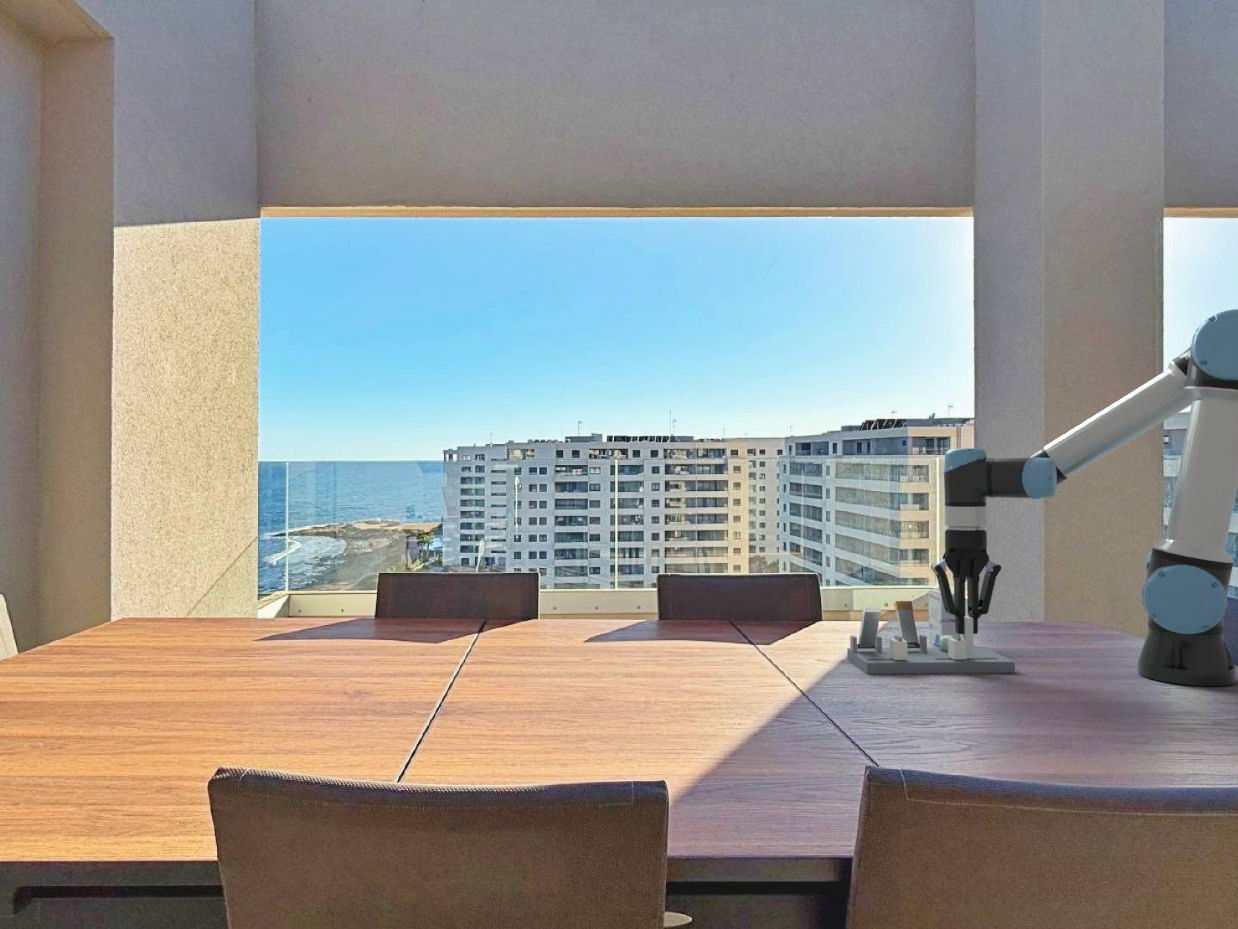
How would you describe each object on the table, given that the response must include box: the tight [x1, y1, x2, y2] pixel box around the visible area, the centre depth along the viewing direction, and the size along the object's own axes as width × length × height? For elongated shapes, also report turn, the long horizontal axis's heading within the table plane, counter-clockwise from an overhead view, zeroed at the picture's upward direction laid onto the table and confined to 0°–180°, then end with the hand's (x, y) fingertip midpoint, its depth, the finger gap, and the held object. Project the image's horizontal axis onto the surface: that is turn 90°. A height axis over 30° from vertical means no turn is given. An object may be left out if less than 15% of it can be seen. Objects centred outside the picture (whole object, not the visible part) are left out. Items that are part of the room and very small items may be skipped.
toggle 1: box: [857, 607, 882, 649], centre depth 174 cm, size 3×1×10 cm, turn 90°
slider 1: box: [889, 635, 907, 660], centre depth 168 cm, size 2×3×4 cm
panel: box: [846, 634, 1016, 675], centre depth 172 cm, size 28×14×5 cm, turn 90°
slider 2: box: [948, 635, 966, 660], centre depth 168 cm, size 2×3×4 cm
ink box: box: [928, 588, 960, 648], centre depth 192 cm, size 9×5×12 cm, turn 179°
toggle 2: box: [893, 600, 920, 648], centre depth 178 cm, size 3×1×10 cm, turn 90°
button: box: [939, 635, 959, 651], centre depth 176 cm, size 4×4×2 cm
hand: (966, 650), depth 168 cm, fingers closed
